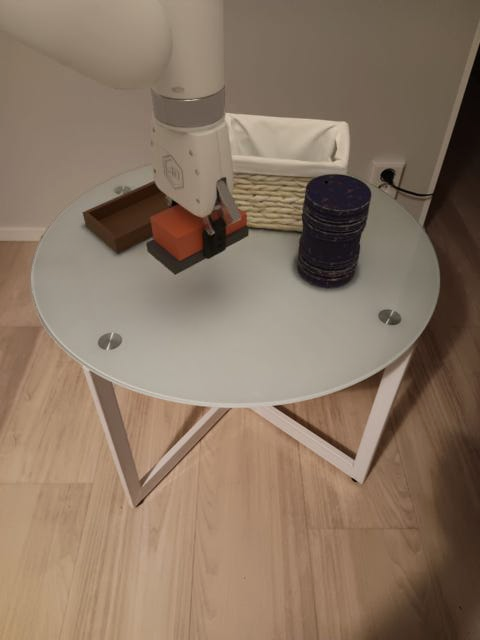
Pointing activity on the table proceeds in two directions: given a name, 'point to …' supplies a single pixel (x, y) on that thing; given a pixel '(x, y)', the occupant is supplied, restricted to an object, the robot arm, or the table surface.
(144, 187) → the tray
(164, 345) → the table surface
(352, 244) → the storage jar
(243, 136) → the basket
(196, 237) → the shoe
